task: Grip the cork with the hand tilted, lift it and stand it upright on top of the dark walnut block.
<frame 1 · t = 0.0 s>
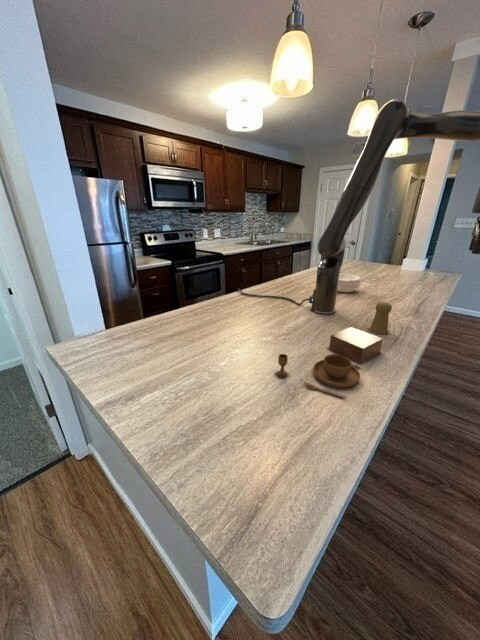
hand: (474, 252, 83), 29 cm above the countertop, tool pointing down, fingers open, 8 cm apart
place setting: (320, 372, 73), on the countertop
paper bowls: (343, 290, 148), on the countertop
cork: (378, 331, 98), on the countertop
walnut block: (354, 350, 84), on the countertop
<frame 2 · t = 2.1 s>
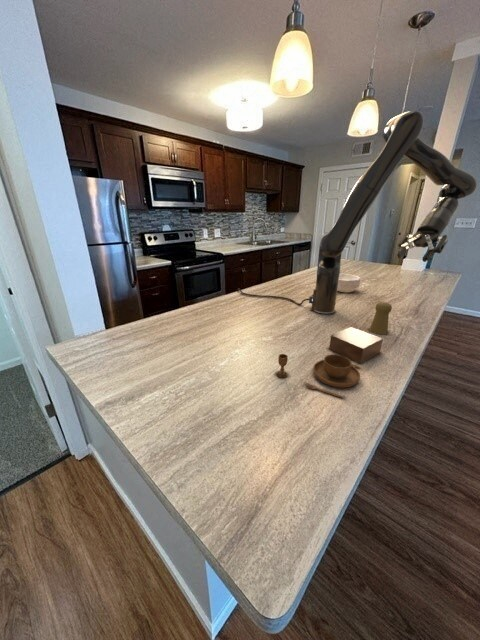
hand: (410, 258, 94), 26 cm above the countertop, tool tilted 45°, fingers open, 8 cm apart
nothing on the countertop moved.
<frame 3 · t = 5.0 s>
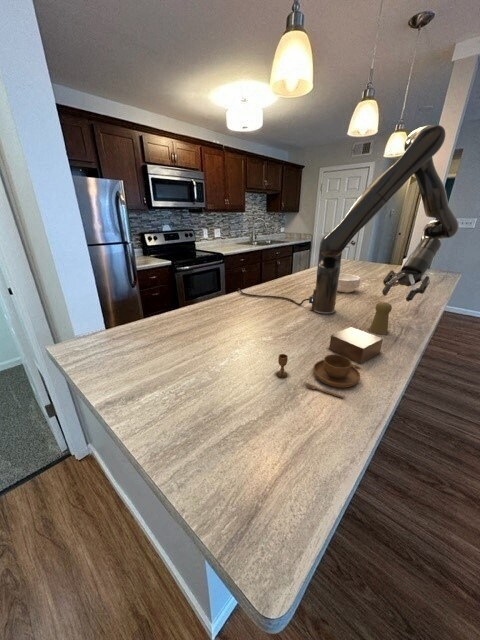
hand: (395, 297, 97), 12 cm above the countertop, tool tilted 45°, fingers open, 8 cm apart
nothing on the countertop moved.
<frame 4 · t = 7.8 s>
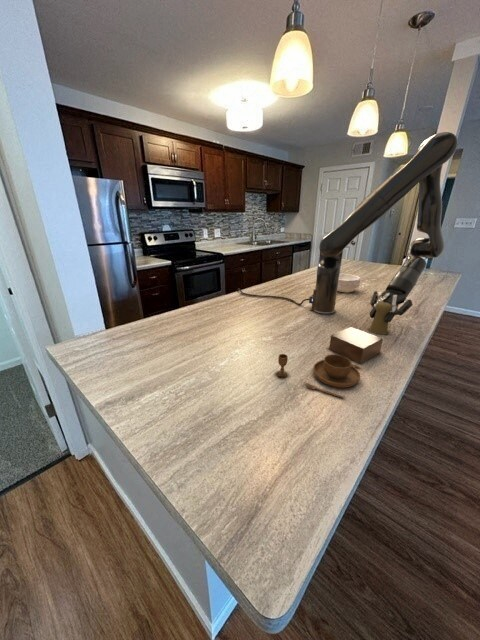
hand: (378, 319, 95), 5 cm above the countertop, tool tilted 45°, fingers closed on cork, 5 cm apart
cork: (378, 331, 98), on the countertop, touching gripper
everything else where it was.
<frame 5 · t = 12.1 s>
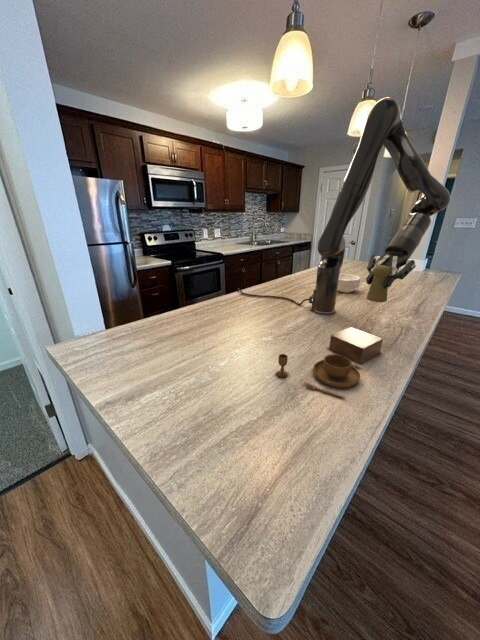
hand: (376, 284, 83), 20 cm above the countertop, tool tilted 45°, fingers closed on cork, 5 cm apart
cork: (376, 299, 86), point 15 cm above the countertop, touching gripper
everything else where it was.
when the fingers open (10 cm above the countertop, at t = 16.7 s): cork stays where it is, resting on walnut block.
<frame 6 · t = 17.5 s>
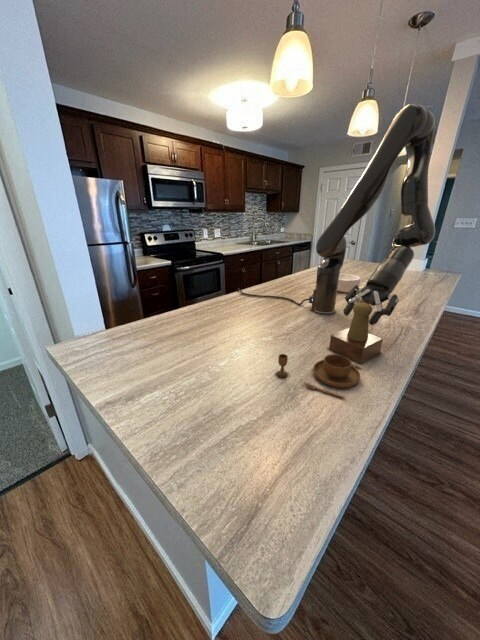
hand: (357, 318, 79), 11 cm above the countertop, tool tilted 45°, fingers open, 8 cm apart
cork: (357, 337, 82), point 5 cm above the countertop, touching walnut block
walnut block: (354, 350, 84), on the countertop, touching cork
everything else where it was.
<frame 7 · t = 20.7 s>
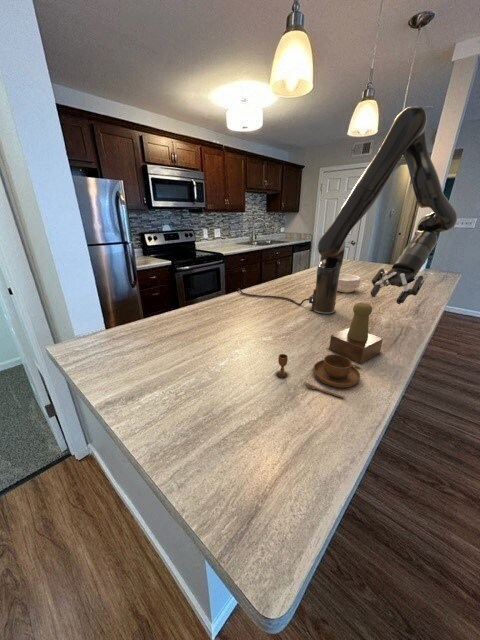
hand: (384, 299, 85), 15 cm above the countertop, tool tilted 45°, fingers open, 8 cm apart
nothing on the countertop moved.
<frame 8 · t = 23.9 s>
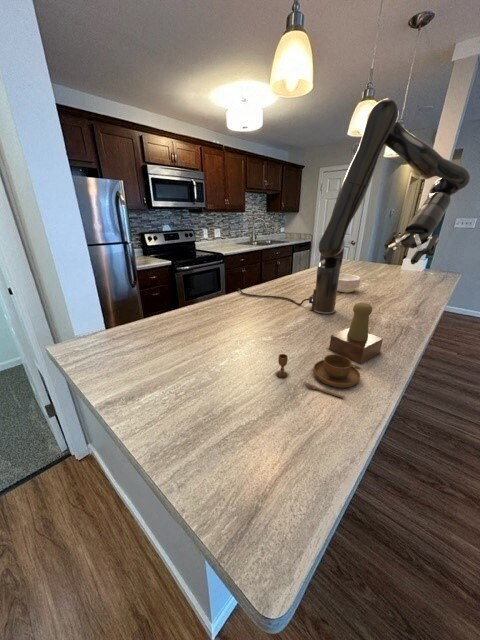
hand: (398, 260, 84), 27 cm above the countertop, tool tilted 45°, fingers open, 8 cm apart
nothing on the countertop moved.
at the end: cork 0.2 cm off-centre on the walnut block, point 4.8 cm above the walnut block's base; cork tilted 0°; the gripper is holding nothing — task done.
